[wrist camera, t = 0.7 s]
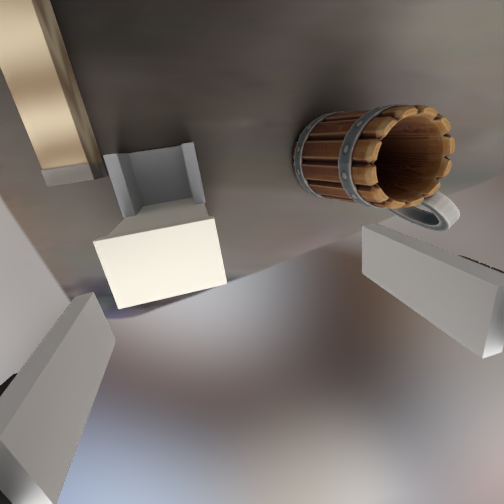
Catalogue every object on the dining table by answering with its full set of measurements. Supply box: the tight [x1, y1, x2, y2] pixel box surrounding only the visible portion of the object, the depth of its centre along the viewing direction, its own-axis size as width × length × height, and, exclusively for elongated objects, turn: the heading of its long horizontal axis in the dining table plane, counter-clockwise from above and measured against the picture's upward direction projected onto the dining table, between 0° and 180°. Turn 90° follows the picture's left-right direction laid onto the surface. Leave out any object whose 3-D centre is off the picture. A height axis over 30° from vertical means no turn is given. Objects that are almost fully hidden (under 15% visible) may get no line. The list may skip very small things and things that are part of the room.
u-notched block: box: [93, 142, 227, 309], centre depth 27 cm, size 11×9×15 cm
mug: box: [293, 104, 460, 231], centre depth 30 cm, size 16×11×15 cm
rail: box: [0, 0, 108, 187], centre depth 26 cm, size 16×4×5 cm, turn 8°
